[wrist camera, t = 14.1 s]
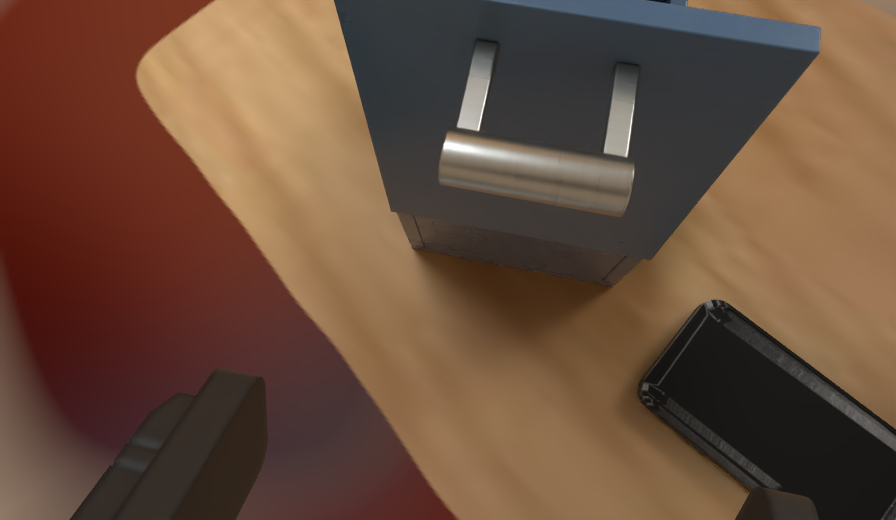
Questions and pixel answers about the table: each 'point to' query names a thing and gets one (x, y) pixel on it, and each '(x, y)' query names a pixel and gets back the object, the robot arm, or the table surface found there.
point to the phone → (772, 416)
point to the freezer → (520, 246)
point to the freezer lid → (564, 109)
